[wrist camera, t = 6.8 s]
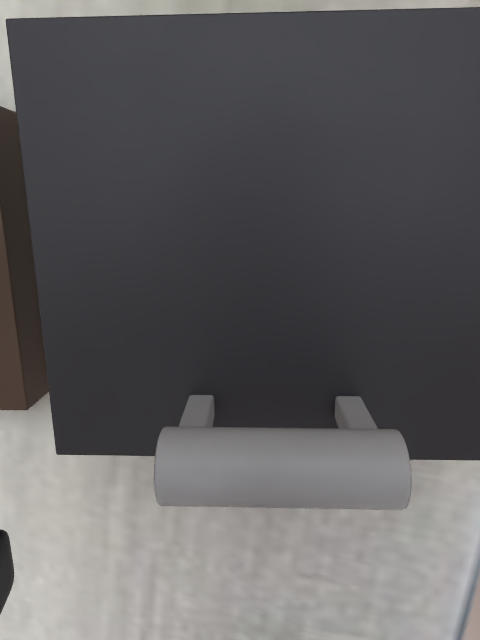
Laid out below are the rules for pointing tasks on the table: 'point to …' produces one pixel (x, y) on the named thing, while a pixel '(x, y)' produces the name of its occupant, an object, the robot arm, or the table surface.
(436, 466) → the table surface
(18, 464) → the table surface
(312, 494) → the lid
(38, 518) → the table surface
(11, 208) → the brown button base
